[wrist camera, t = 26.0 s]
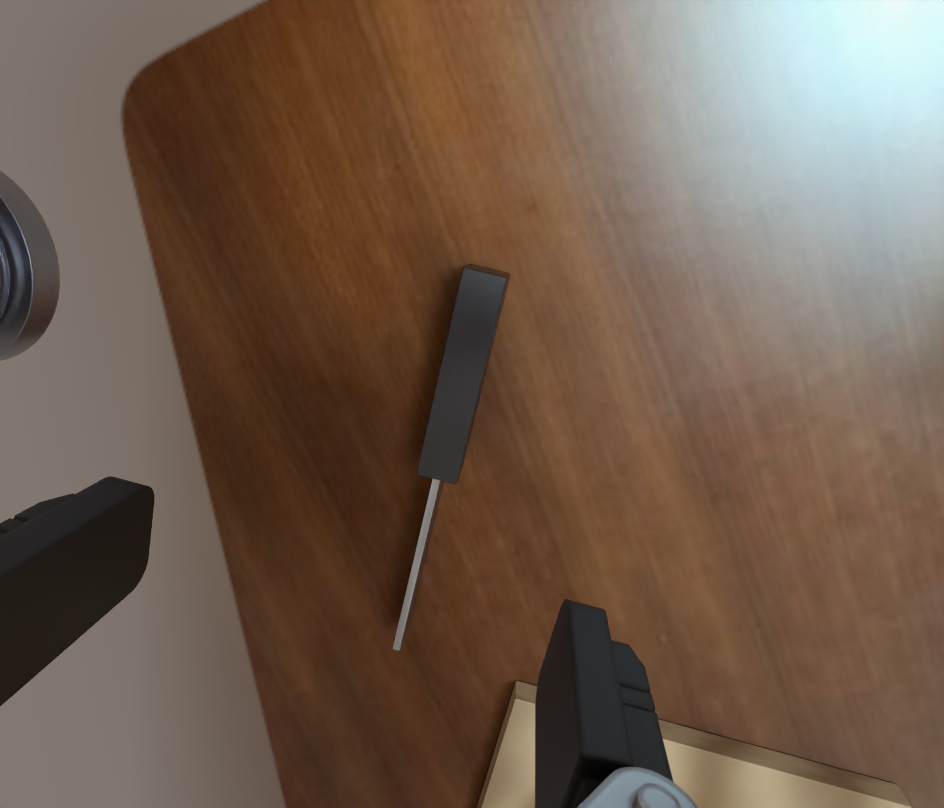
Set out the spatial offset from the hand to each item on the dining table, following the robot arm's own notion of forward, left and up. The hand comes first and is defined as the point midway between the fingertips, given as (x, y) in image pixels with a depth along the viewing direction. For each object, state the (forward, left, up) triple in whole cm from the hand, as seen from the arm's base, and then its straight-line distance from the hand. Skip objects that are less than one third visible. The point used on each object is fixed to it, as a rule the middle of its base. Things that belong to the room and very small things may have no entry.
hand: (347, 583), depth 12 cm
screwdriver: (0, -5, -20) cm, 21 cm away
